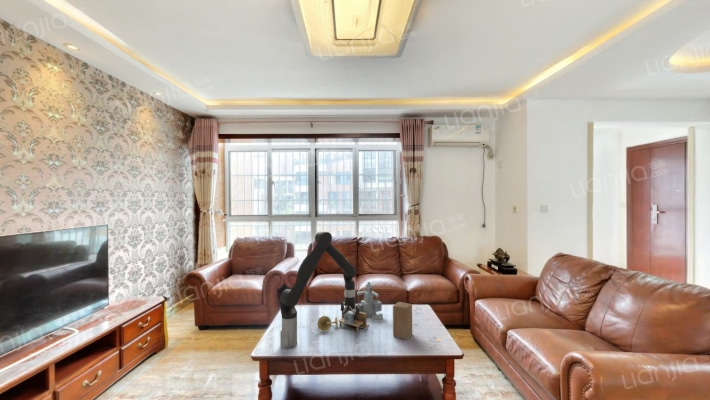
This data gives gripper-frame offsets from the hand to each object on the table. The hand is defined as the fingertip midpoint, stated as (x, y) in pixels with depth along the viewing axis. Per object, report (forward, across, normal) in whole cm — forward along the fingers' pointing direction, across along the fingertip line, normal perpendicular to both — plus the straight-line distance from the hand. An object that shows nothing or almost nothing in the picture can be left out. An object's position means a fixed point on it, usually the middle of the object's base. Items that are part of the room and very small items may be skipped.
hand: (350, 318), depth 199 cm
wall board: (+6, 0, +3) cm, 7 cm away
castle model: (+6, 0, +23) cm, 24 cm away
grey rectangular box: (+2, 0, 0) cm, 2 cm away
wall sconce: (+6, -18, -4) cm, 19 cm away
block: (+6, +36, +8) cm, 37 cm away
